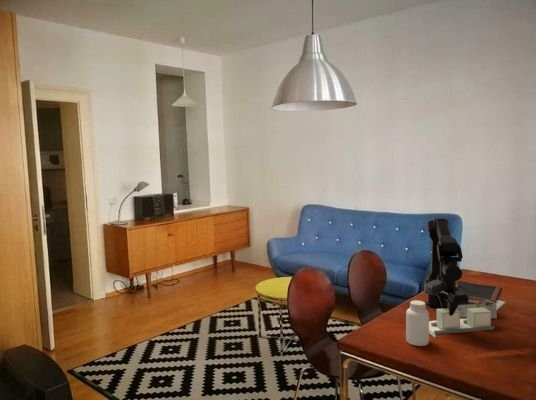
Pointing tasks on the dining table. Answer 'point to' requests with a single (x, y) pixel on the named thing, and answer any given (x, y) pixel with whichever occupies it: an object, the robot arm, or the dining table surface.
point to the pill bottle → (417, 324)
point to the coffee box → (477, 304)
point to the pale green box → (448, 319)
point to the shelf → (463, 328)
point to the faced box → (478, 317)
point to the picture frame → (478, 291)
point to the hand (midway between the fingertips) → (447, 313)
